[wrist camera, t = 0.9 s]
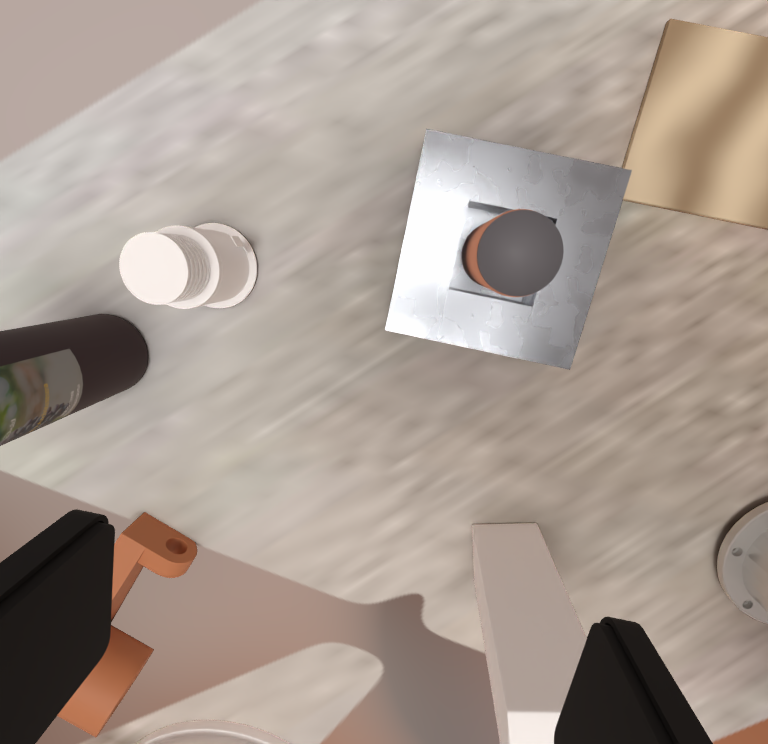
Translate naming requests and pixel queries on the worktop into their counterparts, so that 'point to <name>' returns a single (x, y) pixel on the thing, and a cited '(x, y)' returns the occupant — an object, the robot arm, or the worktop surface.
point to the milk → (524, 630)
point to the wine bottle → (64, 369)
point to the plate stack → (210, 734)
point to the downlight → (189, 266)
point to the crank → (124, 653)
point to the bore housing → (479, 205)
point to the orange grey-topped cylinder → (514, 253)
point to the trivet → (704, 126)
